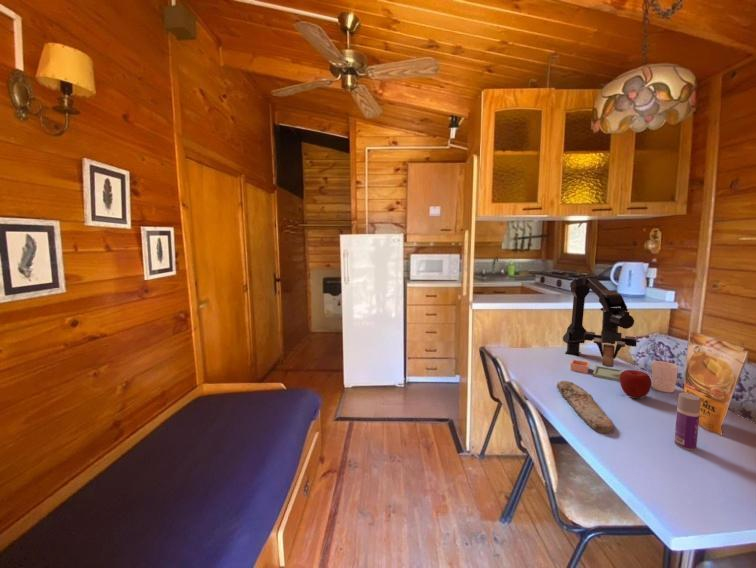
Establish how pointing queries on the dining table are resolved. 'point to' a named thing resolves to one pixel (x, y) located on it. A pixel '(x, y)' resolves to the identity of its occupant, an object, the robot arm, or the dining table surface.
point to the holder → (580, 366)
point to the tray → (607, 373)
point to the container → (687, 421)
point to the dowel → (608, 355)
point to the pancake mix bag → (712, 376)
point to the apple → (635, 383)
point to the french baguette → (585, 407)
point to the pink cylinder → (664, 376)
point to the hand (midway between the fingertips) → (608, 357)
